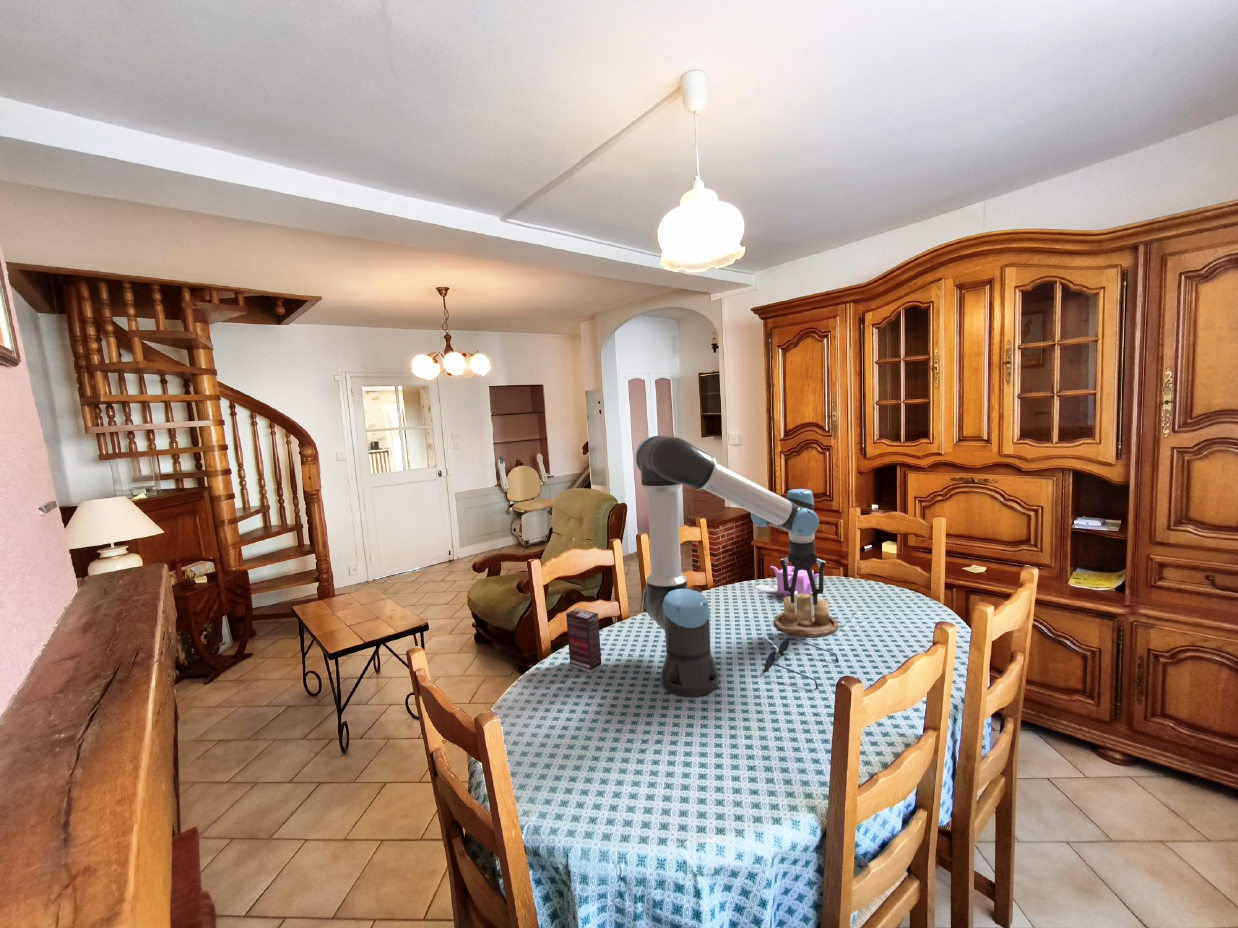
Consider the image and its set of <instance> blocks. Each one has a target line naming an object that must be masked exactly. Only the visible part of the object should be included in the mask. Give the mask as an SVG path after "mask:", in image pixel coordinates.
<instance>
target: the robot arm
mask: <svg viewBox="0 0 1238 928" xmlns="http://www.w3.org/2000/svg"><path fill="white" fill-rule="evenodd" d="M635 463H636V466H637V468H638V470H639V471H640V480H641V486H642V487H643V488H644V489H645V491H647V493H646V494H647V510H648V513H647V514H648V530H649V531H648V533H649V534H648V535H649V552H650V557H649V558H650V574H649V575H648V576H647V577H646V578H645V579H646V587H644V589H643V593H642V604H643V608H644V610H645V611H646V613H647V615H648V616H649V617H650V618H651V619H652V620H653V621H654V622H655V623H656V624H657V625H658V626H659V627H660V628H661V629H662V630H663V631H664V633H665V637H664V638H665V652H666V653H665V657H664V661H663V665H662V668H661V673H660V679H661V680H660V681H661V686H662V687H663V688H664V689H665V690H666V691H667V692H669V693H671V694H674V695H677V696H682V697H700V696H704V695H707V694H710V693H712V692H714V691H715V690H716V689H717V688H718V686H719V683H720V681H719V680H720V679H719V678H720V677H719V671H718V669H717V666H716V662H715V661H714V658H713V656H712V650H711V629H710V625H711V624H710V607H709V601H708V599H707V598H706V596H705V595H704V594H702V593H701V592H699V591H697V590H692V589H690V588H688V577H687V576H686V575H685V574H684V573H683V572H682V558H681V537H680V536H681V535H680V530H681V529H680V512H679V511H680V509H679V508H680V507H679V489H680V488H681V487H682V485H685V486H688V487H690V488H692V489H694V490H696V491H699V490H700V491H701V490H704V491H706V492H708V493H711V494H713V495H715V496H717V497H719V498H721V499H723V500H725V501H727V502H729V503H732V504H733V505H734V506H737V507H739V508H741V509H743V510H745V511H747V512H749V513H750V518H751V521H752V523H753V524H754V525H755V527H759V528H767V527H773V528H777V529H779V530H781V531H782V530H783V531H785V532H787V533H788V539H789V541H788V546H789V547H788V550H789V552H788V553H789V555H788V556H787V557H785V558H784V557H782V558H781V559H780V561H779V564H780V566H781V568H782V570H783V582H784V590H785V591H788V592H790V595H789V597H791V603H794V606H795V615H797V614H798V612H797V595H798V591H795V587H796V582H797V576H798V571H799V570H805V571H807V574H808V577H809V581H810V585H811V589H812V592H811V593H810V594H809V595H810V603H811V616H814V605H817V603H818V599H819V598H818V595H819V594H821V595H822V594H823V593H824V587H825V586H824V585H825V583H824V580H825V579H824V578H825V577H824V574H825V573H824V571H825V567H826V564H827V563H826V560H825V559H823V560H822V559H820V558H818V556H817V555H816V554H817V553H816V541H815V538H816V536H815V534H816V532H817V530H818V528H819V525H820V519H819V516H818V514H817V512H815V502H814V494H813V491H812V490H810V489H806V488H797V489H796V488H795V489H790V490H788V491H787V493H786V497H785V498H784V497H783V496H780V495H778V494H777V493H775V492H773V491H772V490H770V489H769V490H768V489H767V488H765V487H764V486H761V485H760V484H757V483H756V482H754V481H752V480H750V479H748V478H747V477H744V476H742V475H740V474H738V473H737V472H734V471H732V469H729V468H727V467H724V466H723V465H721V464H719V463H718V462H717V461H716V458H715V457H714V456H712V455H711V454H708V453H707V452H705V451H704V450H702V449H700V448H698V447H696V446H695V445H693V444H691V442H688V441H687V440H685V439H683V438H679V437H677V436H666V435H659V434H658V435H654V436H650V437H648V438H645V439H644V440H643V441H642V442H641V443H640V444H639V445H638V447H637V449H636V451H635ZM789 563H790V564H791V565H792V567H793V566H794V573H793V579H792V584H791V587H790V586H789V581H788V568H787V566H789ZM815 564H817V567H818V568H819V569H818V574H819V576H818V587H817V583H815V579H814V576H813V572H812V570H813V567H814V566H815Z"/></svg>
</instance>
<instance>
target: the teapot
mask: <svg viewBox="0 0 1238 928" xmlns="http://www.w3.org/2000/svg"><path fill="white" fill-rule="evenodd" d="M770 568H771V569H773V571H774V573H775V579H776V584H777V585H776V586H777V587H776V588H777V593H778V594H782V597H783V598H785V597H790V592H788V591H785V590H784V582H783V570H782V569H778V568H777V567H776V566H773V565H770ZM787 568H788V581H789V586H790V587H791V584H792V579H793V573H794V566H793V565H792V566H791V565H787ZM812 572H813V576H814V579H815V583H816V582H817V579H818V578H819V573H815V574H814V569H812ZM816 584H817V583H816ZM795 591H798V594H809V595H810V594H811V592H812V589H811V585H810V581H809V577H808V574H807V571H805V570H799V571H798V576H797V582H796V587H795Z"/></svg>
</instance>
